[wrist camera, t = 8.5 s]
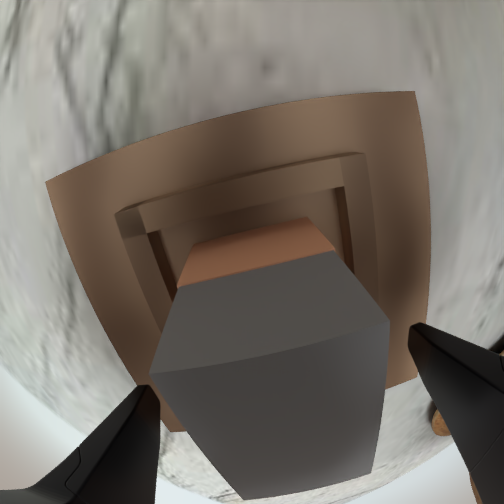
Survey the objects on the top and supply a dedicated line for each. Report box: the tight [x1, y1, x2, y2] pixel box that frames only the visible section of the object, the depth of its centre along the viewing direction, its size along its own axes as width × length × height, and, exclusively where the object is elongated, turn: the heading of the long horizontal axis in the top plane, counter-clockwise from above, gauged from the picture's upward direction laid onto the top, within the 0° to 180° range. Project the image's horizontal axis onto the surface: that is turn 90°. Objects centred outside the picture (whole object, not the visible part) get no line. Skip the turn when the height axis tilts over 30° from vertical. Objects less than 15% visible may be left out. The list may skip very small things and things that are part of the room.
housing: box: [149, 217, 390, 500], centre depth 9 cm, size 7×4×7 cm, turn 13°
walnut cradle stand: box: [45, 91, 431, 432], centre depth 13 cm, size 16×16×4 cm
